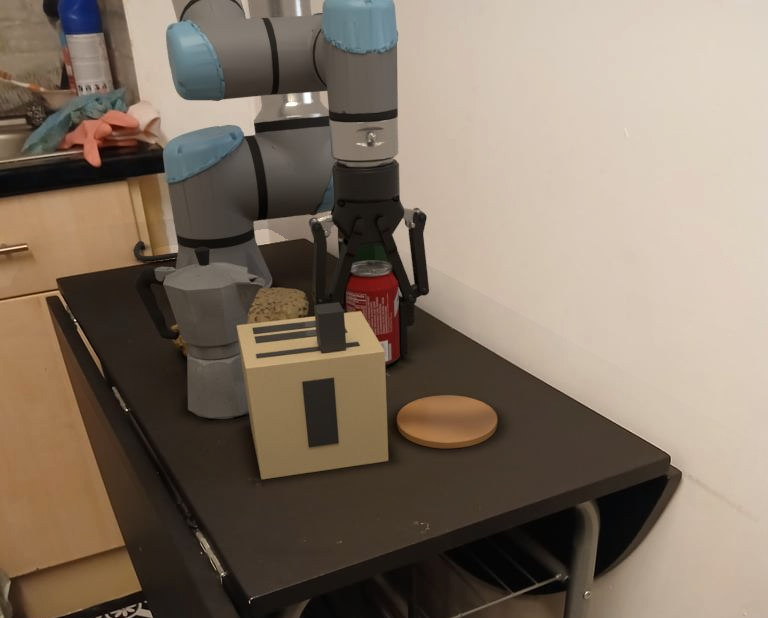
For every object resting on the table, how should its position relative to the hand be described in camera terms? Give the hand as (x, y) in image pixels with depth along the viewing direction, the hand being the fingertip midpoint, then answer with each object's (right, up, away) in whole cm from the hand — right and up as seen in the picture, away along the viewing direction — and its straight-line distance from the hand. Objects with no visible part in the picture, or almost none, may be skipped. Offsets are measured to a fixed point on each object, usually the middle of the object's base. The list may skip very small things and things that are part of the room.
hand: (373, 353), depth 101 cm
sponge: (-17, +2, +6) cm, 18 cm away
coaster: (+8, -11, -14) cm, 19 cm away
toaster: (-6, -13, -17) cm, 22 cm away
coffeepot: (-18, -7, -8) cm, 21 cm away
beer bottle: (-1, +9, +16) cm, 18 cm away
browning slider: (-4, -5, -26) cm, 27 cm away
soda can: (0, -1, +1) cm, 1 cm away
